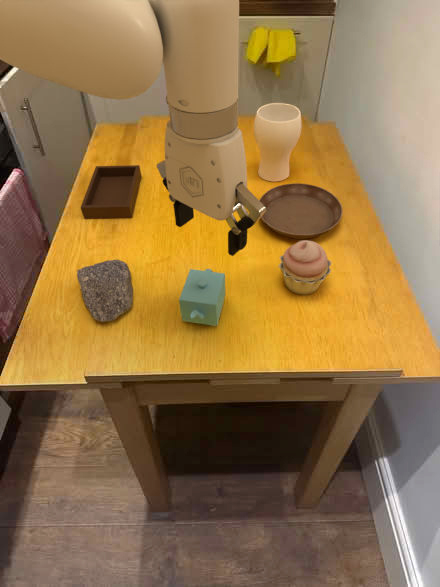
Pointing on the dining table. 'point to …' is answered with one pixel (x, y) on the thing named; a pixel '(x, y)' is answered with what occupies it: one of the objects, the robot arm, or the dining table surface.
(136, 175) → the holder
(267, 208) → the plant saucer
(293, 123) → the cup
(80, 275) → the rock
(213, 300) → the teapot
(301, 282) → the cupcake
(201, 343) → the dining table surface
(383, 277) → the dining table surface
